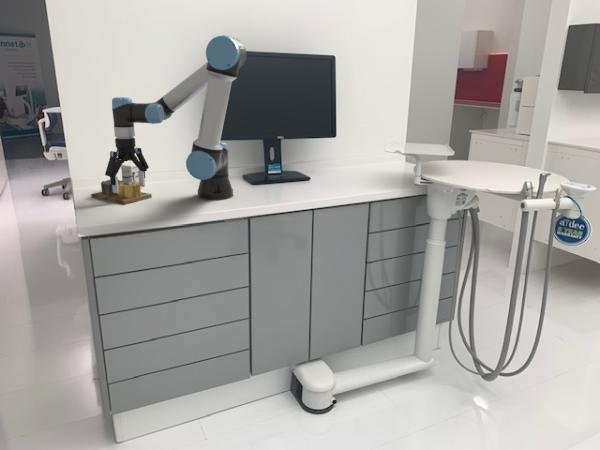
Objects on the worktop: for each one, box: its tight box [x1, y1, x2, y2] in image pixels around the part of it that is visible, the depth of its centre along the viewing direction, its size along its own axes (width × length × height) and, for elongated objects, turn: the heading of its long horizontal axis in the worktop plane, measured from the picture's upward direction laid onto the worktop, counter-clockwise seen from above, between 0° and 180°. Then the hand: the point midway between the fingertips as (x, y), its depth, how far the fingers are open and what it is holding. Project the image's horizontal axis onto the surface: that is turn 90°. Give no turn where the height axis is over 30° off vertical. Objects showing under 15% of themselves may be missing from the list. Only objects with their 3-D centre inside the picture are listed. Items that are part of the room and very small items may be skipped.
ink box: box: [120, 161, 143, 189], centre depth 212 cm, size 9×5×12 cm, turn 168°
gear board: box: [90, 179, 153, 205], centre depth 199 cm, size 20×14×7 cm
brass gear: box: [118, 182, 142, 198], centre depth 197 cm, size 9×9×5 cm
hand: (129, 189), depth 197 cm, fingers open, 13 cm apart
